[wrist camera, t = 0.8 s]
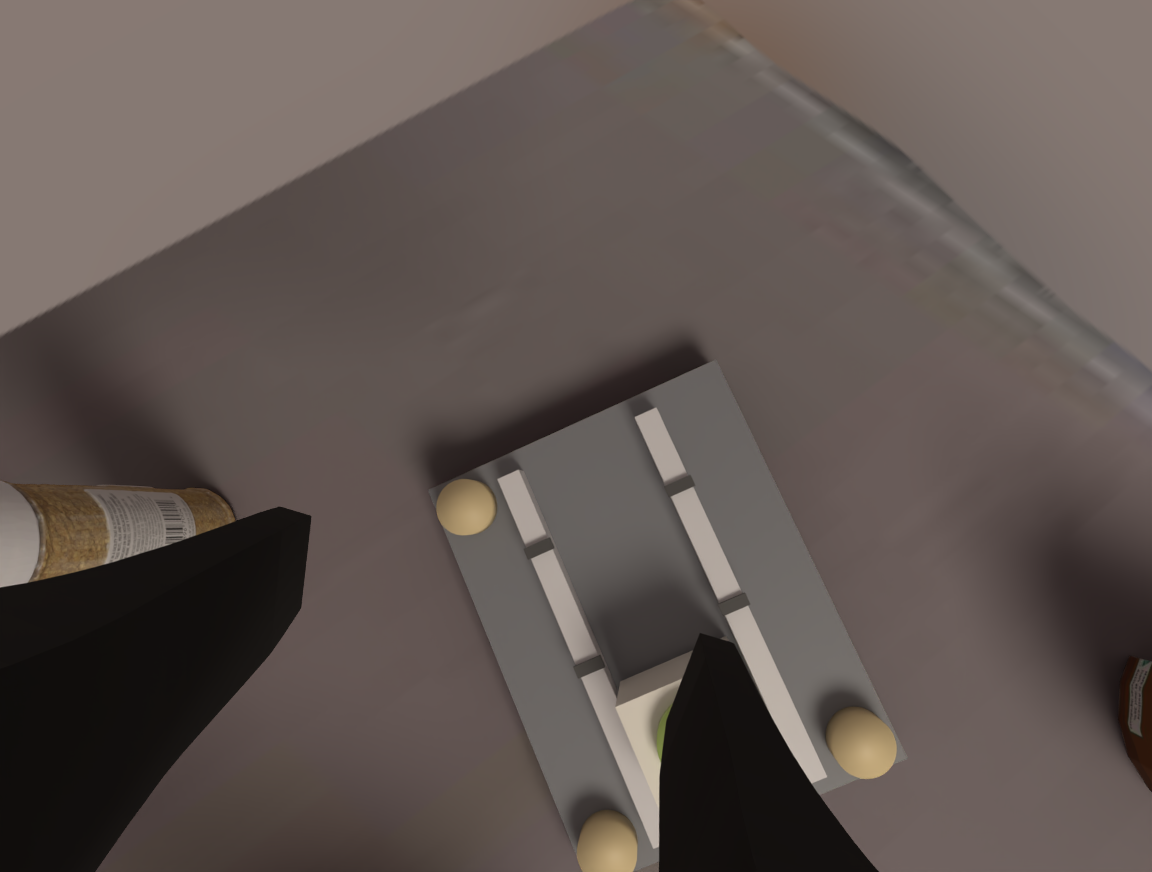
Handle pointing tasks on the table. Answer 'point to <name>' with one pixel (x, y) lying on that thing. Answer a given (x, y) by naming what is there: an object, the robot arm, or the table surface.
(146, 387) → the table surface
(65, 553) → the sprinkles bottle
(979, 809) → the table surface
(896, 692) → the table surface
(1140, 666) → the food container
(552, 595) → the levelling base
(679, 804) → the robot arm
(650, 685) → the block
